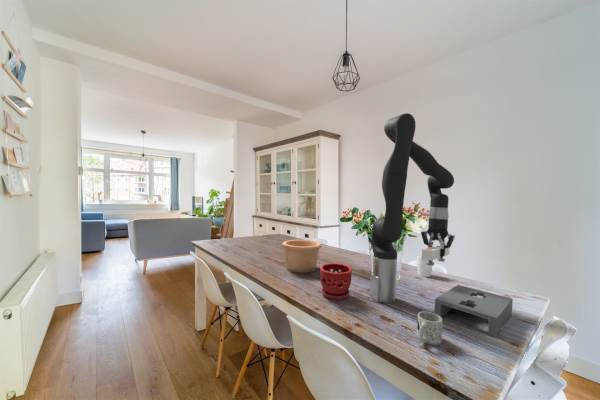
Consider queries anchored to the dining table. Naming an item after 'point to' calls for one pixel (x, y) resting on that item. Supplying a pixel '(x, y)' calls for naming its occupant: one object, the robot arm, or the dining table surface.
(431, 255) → the power strip
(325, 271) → the plant pot
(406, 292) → the dining table surface
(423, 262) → the white cup
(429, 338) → the mug
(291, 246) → the pottery
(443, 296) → the keyhole board
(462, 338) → the dining table surface
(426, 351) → the dining table surface
